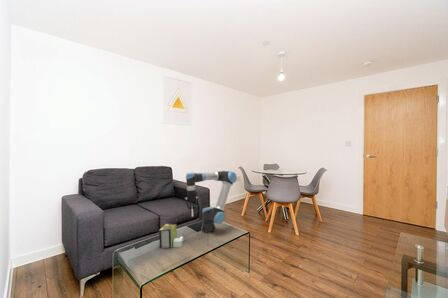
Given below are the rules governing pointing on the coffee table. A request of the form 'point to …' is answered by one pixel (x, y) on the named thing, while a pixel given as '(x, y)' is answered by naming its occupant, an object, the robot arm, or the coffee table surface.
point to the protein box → (167, 235)
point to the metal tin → (182, 237)
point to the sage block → (177, 242)
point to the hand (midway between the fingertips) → (192, 216)
